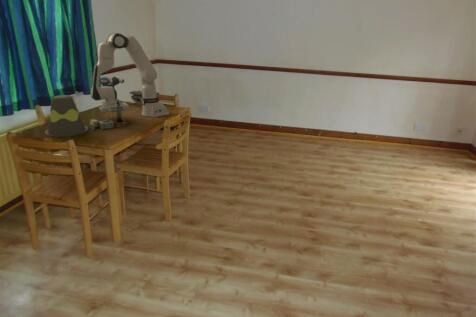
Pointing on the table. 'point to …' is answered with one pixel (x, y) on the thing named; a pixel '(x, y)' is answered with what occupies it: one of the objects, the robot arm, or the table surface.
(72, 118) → the banded grey frustum
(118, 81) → the impact wrench
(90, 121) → the drift key
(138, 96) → the dark grey irregular piece
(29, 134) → the table surface
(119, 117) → the drill bit
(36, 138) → the table surface
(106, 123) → the socket block
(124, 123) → the rack
